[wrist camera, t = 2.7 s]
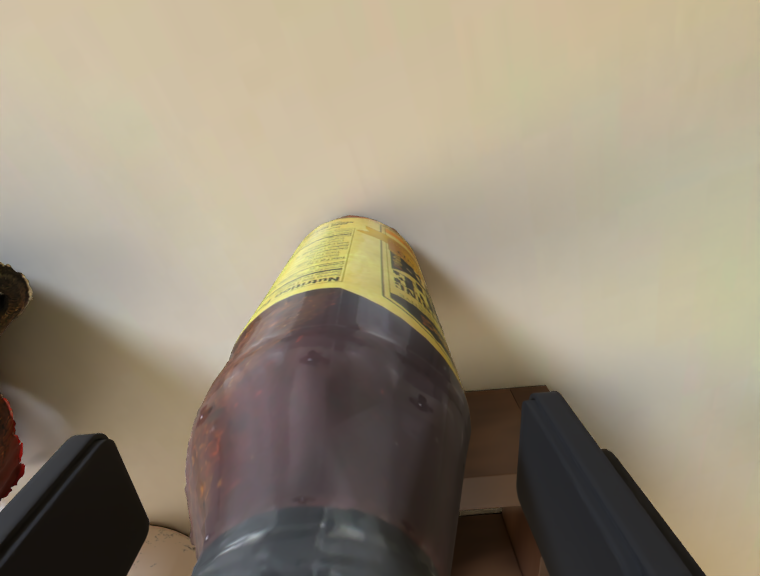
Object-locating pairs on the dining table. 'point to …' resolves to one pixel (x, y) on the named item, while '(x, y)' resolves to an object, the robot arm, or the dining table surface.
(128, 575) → the teacup with lid
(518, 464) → the robot arm
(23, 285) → the pot
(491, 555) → the holder
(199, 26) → the dining table surface
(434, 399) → the sauce bottle
